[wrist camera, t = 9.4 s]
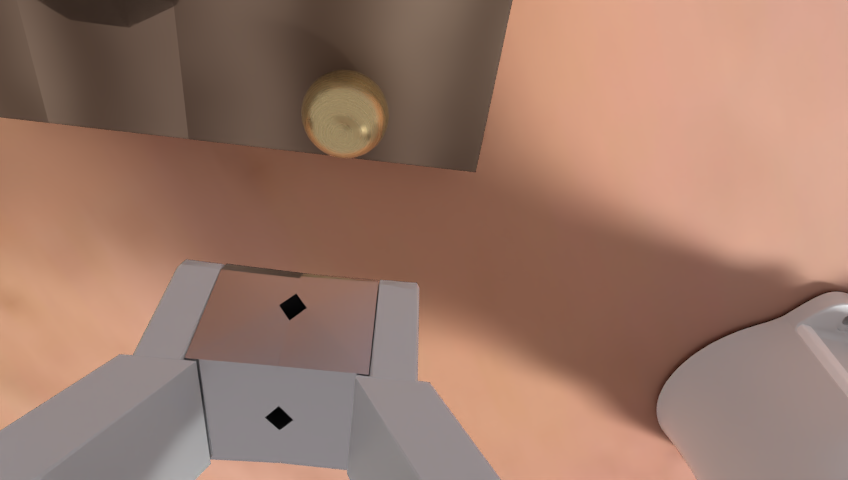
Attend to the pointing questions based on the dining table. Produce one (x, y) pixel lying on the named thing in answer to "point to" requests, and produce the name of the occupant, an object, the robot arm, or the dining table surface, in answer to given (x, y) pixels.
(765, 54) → the dining table surface
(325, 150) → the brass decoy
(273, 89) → the seat plate
